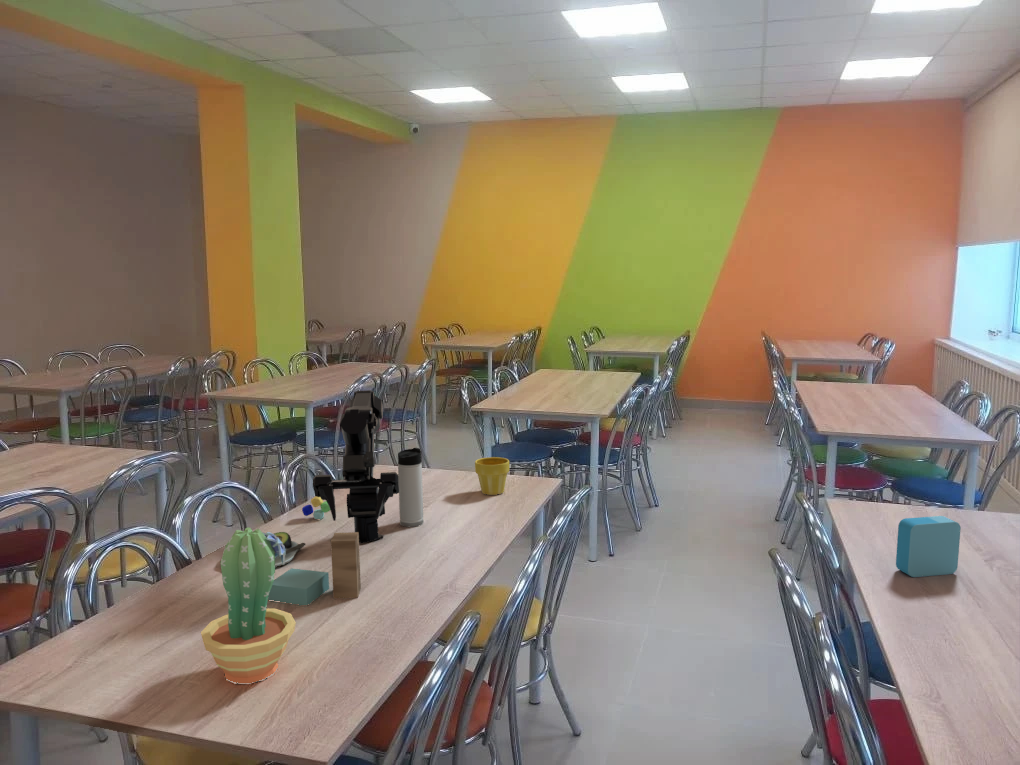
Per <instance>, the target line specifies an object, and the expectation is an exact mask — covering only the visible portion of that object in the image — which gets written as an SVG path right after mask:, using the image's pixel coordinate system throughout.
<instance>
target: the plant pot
mask: <svg viewBox="0 0 1020 765" xmlns="http://www.w3.org/2000/svg"><path fill="white" fill-rule="evenodd" d="M474 469H475V470H474V471H475V473H476V474H477V477H478V478H477V479H478V482H479V485H480V489H481V493H482V494H483V495H486V494H487V496H498V495H497V494H499V495H502V494H504V493H505V487H506V483H507V482H506V481H507V478H508V474H509V472H510V460H509V459H508V458H506V457H499V456H497V457H496V456H490V457H489V456H488V457H482V458H478V459H476V460H475V461H474ZM501 493H502V494H501Z"/></svg>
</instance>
